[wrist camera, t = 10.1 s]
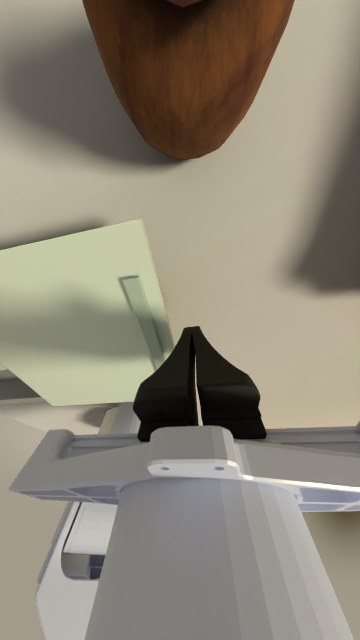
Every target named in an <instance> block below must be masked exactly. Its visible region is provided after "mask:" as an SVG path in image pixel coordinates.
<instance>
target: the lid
mask: <svg viewBox="0 0 360 640" xmlns="http://www.w3.org/2000/svg"><path fill="white" fill-rule="evenodd" d="M174 348H175V345H174V341H173V337H172V333H171V329H170V325H169V322H168V318H167V314H166V310H165V306H164V302H163V298H162V294H161V290H160V286H159V282H158V278H157V275H156V271H155V267H154V263H153V259H152V255H151V251H150V247H149V243H148V239H147V235H146V232H145V228H144V224H143V220H142V219H137V220H132V221H128V222H123V223H119V224H114V225H110V226H106V227H101V228H97V229H92V230H88V231H83V232H79V233H74V234H70V235H66V236H61V237H57V238H52V239H48V240H43V241H39V242H34V243H30V244H26V245H21V246H17V247H12V248H8V249H3V250H0V362H1V363H2V364H3V365H4V366H5V367H7V368H8V369H9V370H10V371H11V372H13V373H14V374H15V375H16V376H17V377H19V378H20V379H21V380H22V381H23V382H25V383H26V384H27V385H28V386H29V387H31V388H32V389H33V390H34V391H35V392H36V393H38V394H39V395H40V396H41V397H42V398H44V399H45V400H46V401H47V402H48V403H50V404H51V405H52V406H69V405H85V404H101V403H118V402H134V400H135V396H136V393H137V391H138V388H139V386H140V384H141V383H142V382H143V381H144V380H145V379H147V378H148V377H149V376H150V375H152V374H153V373H154V372H155V371H156V370H157V369H158V368H159V367H160V366H161V365H162V364H163V363H164V362H165V360H166V359H167V358H168V357H169V355H170V354H171V353H172V351H173V350H174Z"/></svg>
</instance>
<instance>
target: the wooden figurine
mask: <svg viewBox="0 0 360 640" xmlns="http://www.w3.org/2000/svg"><path fill="white" fill-rule="evenodd" d="M82 1H83V4H84V8H85V11H86V15H87V18H88V20H89V23H90V26H91V29H92V32H93V35H94V38H95V40H96V43H97V46H98V49H99V52H100V55H101V57H102V60H103V63H104V66H105V69H106V72H107V74H108V76H109V79H110V81H111V83H112V86H113V88H114V90H115V93H116V95H117V97H118V99H119V100H120V102H121V104H122V106H123V107H124V109H125V111H126V113H127V114H128V116H129V117H130V119H131V120H132V122H133V123H134V125H135V126H136V128H137V129H138V131H139V132H140V134H141V135H142V137H143V138H144V140H145V141H146V142H147V143H148V144H149V145H150V146H152V147H154V148H156V149H158V150H160V151H162V152H163V153H165V154H166V155H168V156H170V157H174V158H179V159H184V160H185V159H193V158H200V157H202V156H204V155H206V154H208V153H210V152H213V151H215V150H217V149H219V147H220V146H221V145H222V144H223V143H224V142H225V141H226V140H227V138H228V137H229V136H230V134H231V133H232V132H233V131H234V129H235V128H236V127H237V126H238V124H239V123H240V122H241V120H242V119H243V118H244V116H245V115H246V113H247V111H248V109H249V108H250V106H251V104H252V103H253V101H254V99H255V96H256V94H257V92H258V89H259V87H260V85H261V83H262V80H263V78H264V76H265V73H266V71H267V69H268V67H269V64H270V62H271V60H272V57H273V55H274V53H275V51H276V48H277V46H278V44H279V41H280V39H281V37H282V35H283V32H284V30H285V28H286V25H287V23H288V20H289V16H290V13H291V10H292V7H293V3H294V0H82Z"/></svg>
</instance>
